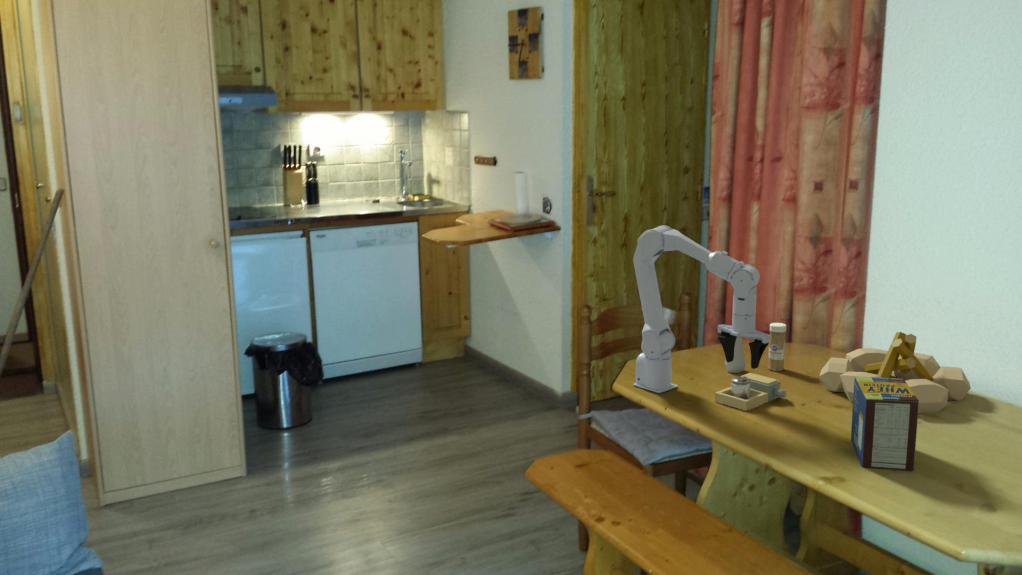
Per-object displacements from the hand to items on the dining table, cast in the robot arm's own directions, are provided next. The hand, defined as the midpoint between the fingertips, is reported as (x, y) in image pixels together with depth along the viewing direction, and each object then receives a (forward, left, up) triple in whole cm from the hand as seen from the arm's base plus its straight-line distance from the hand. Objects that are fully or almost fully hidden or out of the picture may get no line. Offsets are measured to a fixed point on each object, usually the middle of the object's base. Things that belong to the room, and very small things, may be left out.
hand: (742, 364), depth 219 cm
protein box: (+41, -7, -10) cm, 43 cm away
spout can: (0, -1, -9) cm, 9 cm away
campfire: (+23, +35, -10) cm, 43 cm away
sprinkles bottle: (-9, +30, -10) cm, 33 cm away
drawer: (+2, +2, -10) cm, 10 cm away
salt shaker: (-16, +20, -10) cm, 27 cm away
